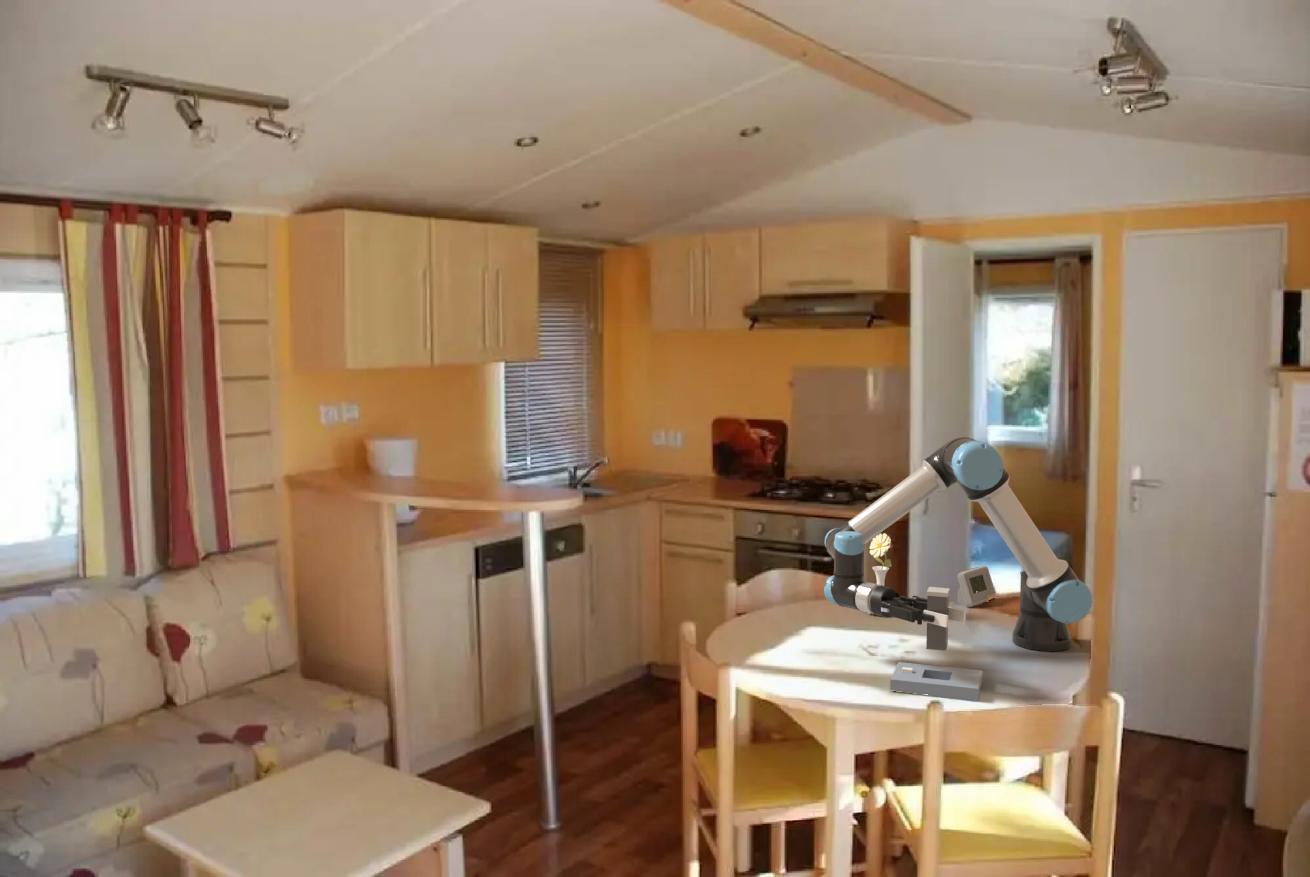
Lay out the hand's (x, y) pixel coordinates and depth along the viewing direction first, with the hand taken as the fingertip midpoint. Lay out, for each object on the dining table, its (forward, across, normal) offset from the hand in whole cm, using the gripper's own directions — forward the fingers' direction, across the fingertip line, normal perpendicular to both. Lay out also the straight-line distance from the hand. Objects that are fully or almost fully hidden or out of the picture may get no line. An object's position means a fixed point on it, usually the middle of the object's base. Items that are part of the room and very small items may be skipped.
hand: (955, 618), depth 252 cm
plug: (-5, 0, -8) cm, 9 cm away
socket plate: (-5, 0, -18) cm, 18 cm away
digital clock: (-45, -76, -18) cm, 90 cm away
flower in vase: (-56, -43, -18) cm, 73 cm away
